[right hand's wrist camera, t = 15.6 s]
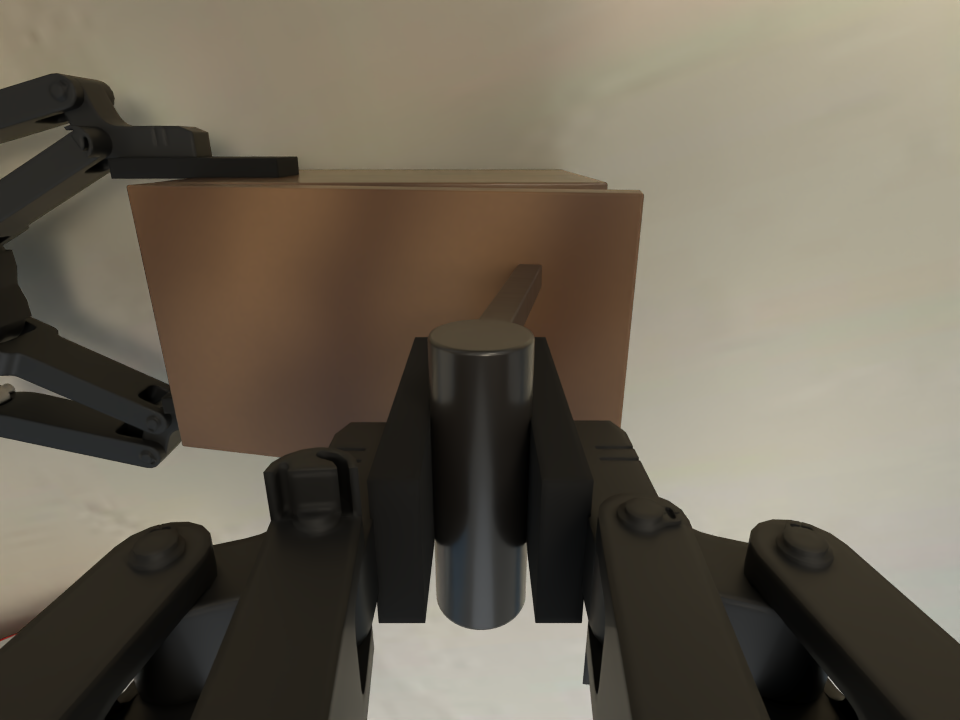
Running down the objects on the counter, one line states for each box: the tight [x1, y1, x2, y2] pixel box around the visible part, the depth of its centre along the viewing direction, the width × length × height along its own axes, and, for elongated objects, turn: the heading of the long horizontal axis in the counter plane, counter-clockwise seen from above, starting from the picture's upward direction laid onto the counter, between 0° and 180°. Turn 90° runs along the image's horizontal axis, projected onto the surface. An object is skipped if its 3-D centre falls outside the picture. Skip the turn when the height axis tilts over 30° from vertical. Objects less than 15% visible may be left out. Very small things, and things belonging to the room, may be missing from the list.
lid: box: [127, 183, 644, 630], centre depth 15 cm, size 16×10×9 cm, turn 90°
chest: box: [155, 170, 608, 190], centre depth 26 cm, size 16×10×11 cm, turn 90°
